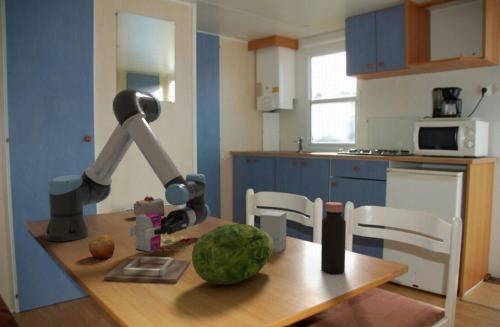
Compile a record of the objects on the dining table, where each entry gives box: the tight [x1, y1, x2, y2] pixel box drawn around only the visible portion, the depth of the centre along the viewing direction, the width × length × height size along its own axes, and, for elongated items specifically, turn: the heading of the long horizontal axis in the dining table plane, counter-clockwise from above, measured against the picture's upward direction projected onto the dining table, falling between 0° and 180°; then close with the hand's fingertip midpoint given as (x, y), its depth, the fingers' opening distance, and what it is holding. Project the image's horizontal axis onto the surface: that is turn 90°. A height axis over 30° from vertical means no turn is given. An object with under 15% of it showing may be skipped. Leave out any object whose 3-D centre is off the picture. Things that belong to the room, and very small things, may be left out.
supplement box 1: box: [135, 213, 162, 254], centre depth 127 cm, size 6×6×12 cm
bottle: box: [320, 201, 347, 275], centre depth 115 cm, size 7×7×20 cm
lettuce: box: [191, 223, 274, 285], centre depth 108 cm, size 15×27×16 cm, turn 137°
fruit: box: [88, 234, 116, 259], centre depth 128 cm, size 8×8×8 cm
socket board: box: [103, 256, 191, 284], centre depth 114 cm, size 20×16×2 cm
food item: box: [133, 195, 166, 217], centre depth 192 cm, size 14×8×10 cm, turn 128°
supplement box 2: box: [259, 210, 287, 253], centre depth 138 cm, size 7×7×13 cm
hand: (137, 233), depth 122 cm, fingers closed on supplement box 1, 6 cm apart
